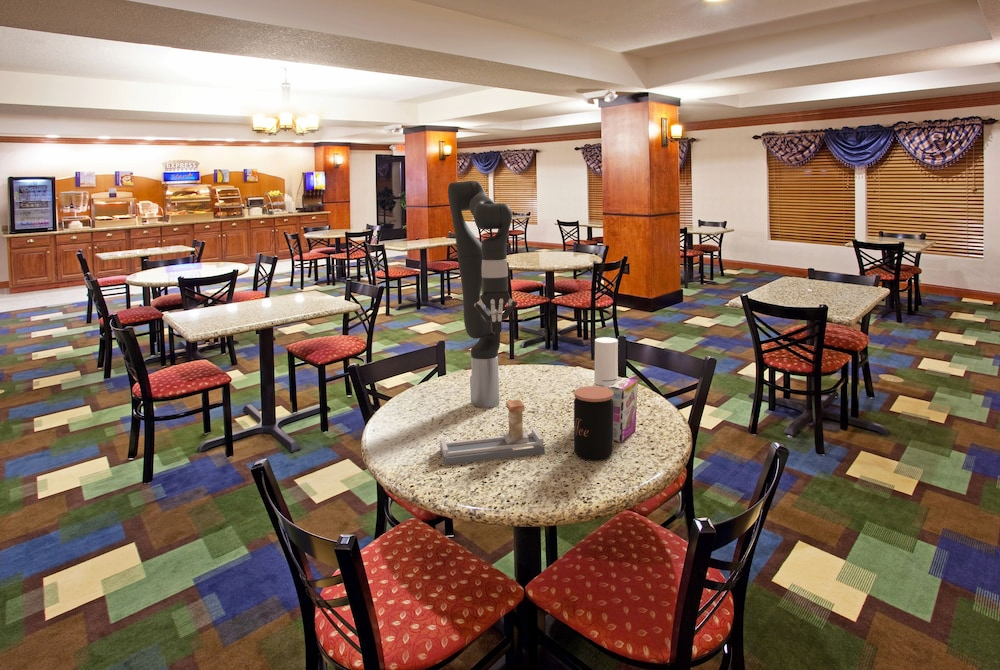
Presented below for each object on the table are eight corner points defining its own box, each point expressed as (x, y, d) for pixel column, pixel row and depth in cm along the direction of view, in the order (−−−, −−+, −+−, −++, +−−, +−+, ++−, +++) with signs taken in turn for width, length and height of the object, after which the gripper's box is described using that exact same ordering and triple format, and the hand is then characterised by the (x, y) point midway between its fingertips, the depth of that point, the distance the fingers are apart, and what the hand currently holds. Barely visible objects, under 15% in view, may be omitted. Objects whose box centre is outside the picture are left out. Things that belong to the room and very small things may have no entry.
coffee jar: (570, 446, 172) (570, 386, 168) (607, 444, 173) (608, 385, 169) (578, 463, 162) (578, 399, 158) (617, 460, 163) (618, 397, 159)
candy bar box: (622, 443, 174) (623, 389, 170) (606, 440, 176) (607, 386, 173) (637, 430, 183) (638, 379, 179) (621, 427, 185) (622, 376, 182)
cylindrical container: (616, 419, 192) (617, 343, 186) (593, 418, 193) (594, 342, 188) (616, 411, 199) (617, 337, 193) (594, 410, 200) (595, 337, 194)
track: (444, 465, 163) (444, 451, 162) (440, 450, 172) (439, 437, 171) (544, 453, 168) (544, 440, 168) (534, 439, 178) (534, 426, 177)
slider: (507, 446, 168) (506, 407, 166) (503, 439, 173) (502, 401, 170) (528, 443, 170) (527, 405, 167) (524, 437, 174) (523, 399, 172)
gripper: (514, 272, 178) (515, 329, 182) (469, 274, 175) (472, 332, 179) (520, 275, 171) (521, 334, 175) (474, 277, 168) (476, 338, 172)
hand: (496, 333), depth 177 cm, fingers closed
